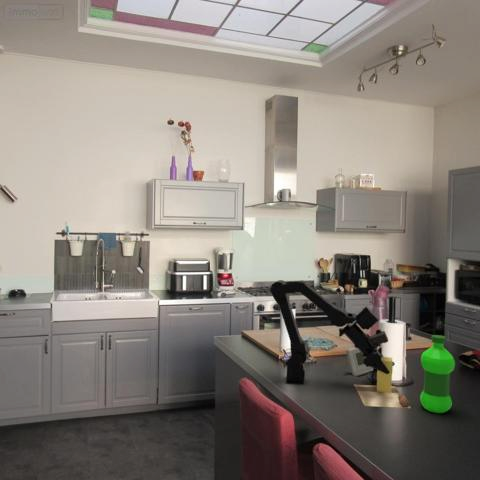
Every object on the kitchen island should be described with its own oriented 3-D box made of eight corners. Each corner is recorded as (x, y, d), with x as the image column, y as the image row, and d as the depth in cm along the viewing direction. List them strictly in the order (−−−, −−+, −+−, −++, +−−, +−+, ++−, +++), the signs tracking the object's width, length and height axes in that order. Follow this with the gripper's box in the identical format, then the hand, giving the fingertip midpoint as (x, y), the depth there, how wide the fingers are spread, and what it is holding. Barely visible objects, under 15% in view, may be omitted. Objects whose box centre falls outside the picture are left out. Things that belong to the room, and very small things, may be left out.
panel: (364, 408, 164) (364, 405, 164) (353, 386, 185) (353, 384, 185) (410, 410, 164) (410, 408, 164) (394, 388, 185) (394, 386, 185)
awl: (402, 407, 164) (402, 399, 164) (394, 396, 174) (394, 389, 174) (409, 407, 164) (409, 400, 164) (401, 396, 174) (401, 389, 174)
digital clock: (353, 378, 196) (354, 351, 195) (338, 371, 203) (339, 346, 203) (382, 372, 204) (383, 346, 204) (366, 366, 212) (367, 341, 211)
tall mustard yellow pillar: (376, 391, 179) (377, 359, 178) (376, 386, 183) (378, 356, 183) (391, 393, 177) (392, 361, 177) (391, 388, 182) (392, 357, 181)
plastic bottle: (449, 420, 156) (453, 342, 155) (415, 412, 162) (418, 337, 161) (455, 410, 165) (458, 336, 163) (422, 403, 170) (425, 331, 169)
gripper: (374, 329, 171) (406, 364, 169) (375, 318, 189) (404, 350, 187) (350, 349, 174) (381, 384, 171) (353, 337, 192) (382, 368, 189)
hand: (388, 370), depth 180 cm, fingers open, 6 cm apart
